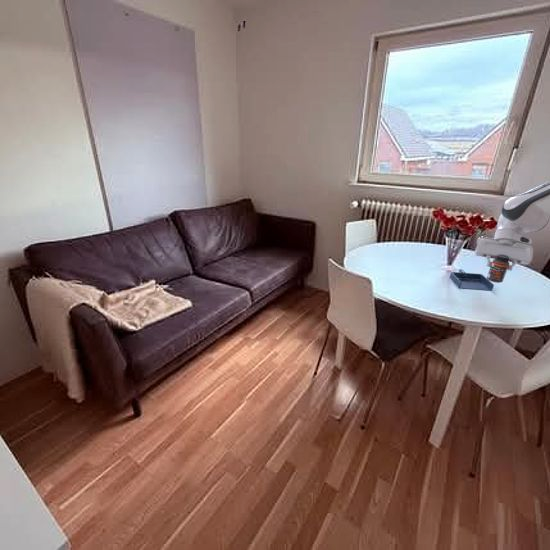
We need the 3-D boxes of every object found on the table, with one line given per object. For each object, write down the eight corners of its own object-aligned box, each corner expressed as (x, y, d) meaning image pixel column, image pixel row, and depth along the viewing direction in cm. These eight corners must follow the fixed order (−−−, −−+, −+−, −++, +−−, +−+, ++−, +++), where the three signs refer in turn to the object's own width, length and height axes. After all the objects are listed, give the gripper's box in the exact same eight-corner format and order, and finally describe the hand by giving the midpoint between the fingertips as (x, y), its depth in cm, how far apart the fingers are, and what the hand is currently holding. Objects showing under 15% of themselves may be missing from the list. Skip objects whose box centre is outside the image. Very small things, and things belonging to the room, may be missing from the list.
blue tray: (491, 290, 149) (494, 284, 147) (458, 288, 150) (460, 282, 149) (473, 274, 166) (475, 268, 165) (444, 271, 168) (446, 266, 167)
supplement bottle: (486, 280, 134) (494, 256, 129) (486, 276, 138) (494, 252, 133) (502, 284, 131) (512, 259, 126) (502, 279, 135) (511, 255, 130)
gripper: (479, 232, 137) (472, 259, 133) (537, 240, 127) (531, 270, 124) (476, 239, 142) (469, 265, 139) (531, 248, 133) (525, 276, 129)
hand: (499, 268), depth 131 cm, fingers closed on supplement bottle, 6 cm apart
